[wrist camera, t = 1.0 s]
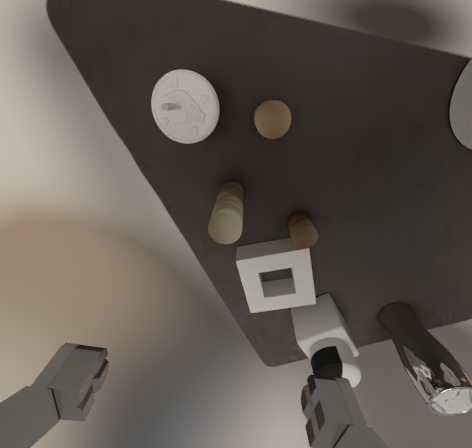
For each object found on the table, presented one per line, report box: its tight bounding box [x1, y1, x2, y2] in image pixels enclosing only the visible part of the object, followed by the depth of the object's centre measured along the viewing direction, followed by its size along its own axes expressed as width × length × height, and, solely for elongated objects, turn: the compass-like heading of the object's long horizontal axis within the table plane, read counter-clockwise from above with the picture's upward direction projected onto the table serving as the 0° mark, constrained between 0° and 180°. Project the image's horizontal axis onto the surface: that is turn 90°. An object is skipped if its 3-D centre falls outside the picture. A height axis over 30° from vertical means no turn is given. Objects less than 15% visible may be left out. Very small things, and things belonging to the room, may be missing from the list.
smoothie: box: [151, 70, 219, 144], centre depth 25 cm, size 6×6×14 cm
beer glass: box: [378, 303, 472, 416], centre depth 39 cm, size 7×7×15 cm
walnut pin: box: [287, 211, 318, 249], centre depth 36 cm, size 4×4×5 cm
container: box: [290, 293, 361, 388], centre depth 41 cm, size 8×8×13 cm
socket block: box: [236, 237, 316, 313], centre depth 40 cm, size 11×11×4 cm
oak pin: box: [254, 100, 291, 139], centre depth 28 cm, size 4×4×8 cm
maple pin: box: [208, 180, 244, 244], centre depth 31 cm, size 4×4×12 cm
